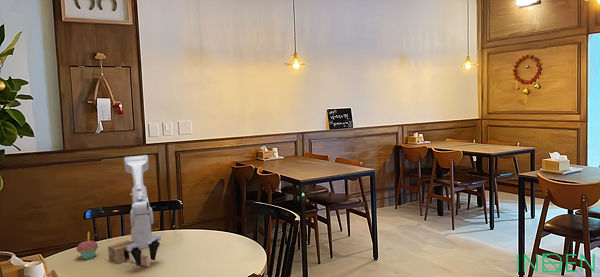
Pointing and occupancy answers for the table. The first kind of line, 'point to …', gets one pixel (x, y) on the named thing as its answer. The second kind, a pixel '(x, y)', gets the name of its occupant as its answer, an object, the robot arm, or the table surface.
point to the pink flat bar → (143, 259)
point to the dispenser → (119, 251)
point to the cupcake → (87, 248)
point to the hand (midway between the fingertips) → (146, 262)
